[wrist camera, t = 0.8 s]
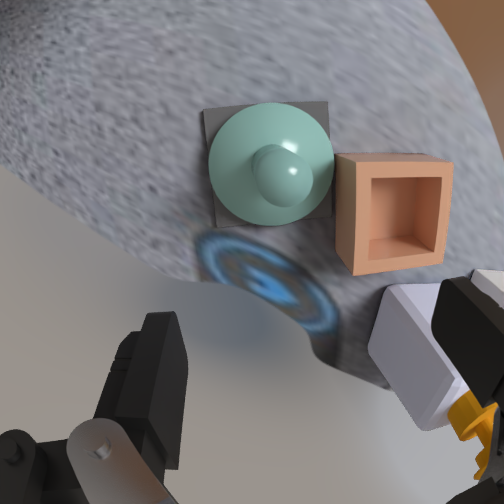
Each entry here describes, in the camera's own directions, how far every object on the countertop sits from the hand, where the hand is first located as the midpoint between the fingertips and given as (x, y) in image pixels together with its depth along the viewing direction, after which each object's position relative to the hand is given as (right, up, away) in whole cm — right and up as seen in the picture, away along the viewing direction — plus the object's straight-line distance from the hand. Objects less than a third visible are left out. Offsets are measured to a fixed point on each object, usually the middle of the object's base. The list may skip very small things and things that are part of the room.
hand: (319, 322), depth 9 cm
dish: (+10, +7, +19) cm, 22 cm away
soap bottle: (+18, -5, +25) cm, 31 cm away
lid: (0, +9, +16) cm, 19 cm away
